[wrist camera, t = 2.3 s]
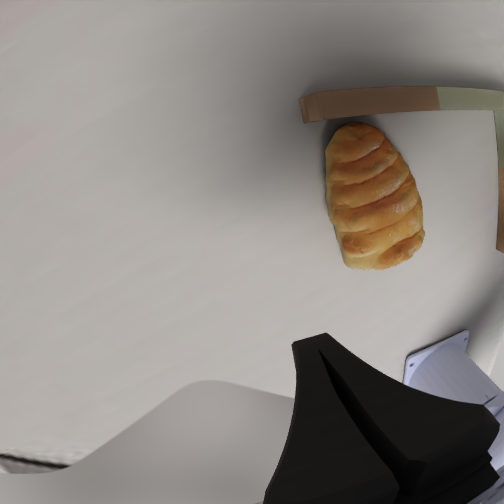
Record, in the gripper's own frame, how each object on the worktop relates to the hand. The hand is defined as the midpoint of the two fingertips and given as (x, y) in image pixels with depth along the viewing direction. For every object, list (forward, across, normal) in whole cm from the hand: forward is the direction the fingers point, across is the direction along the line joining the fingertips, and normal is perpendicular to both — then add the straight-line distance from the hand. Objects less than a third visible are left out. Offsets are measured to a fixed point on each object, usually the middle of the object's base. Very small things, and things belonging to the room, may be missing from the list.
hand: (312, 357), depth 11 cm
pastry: (+11, -7, -2) cm, 13 cm away
